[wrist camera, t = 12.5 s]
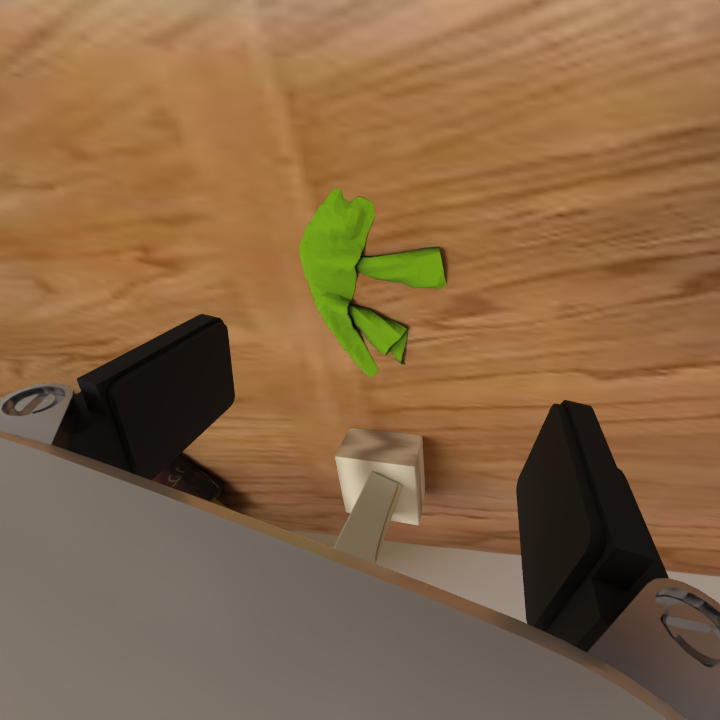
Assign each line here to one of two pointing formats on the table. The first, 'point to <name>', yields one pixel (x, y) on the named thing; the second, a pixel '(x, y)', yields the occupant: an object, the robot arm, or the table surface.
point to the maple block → (383, 468)
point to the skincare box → (369, 518)
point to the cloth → (338, 276)
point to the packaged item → (190, 480)
